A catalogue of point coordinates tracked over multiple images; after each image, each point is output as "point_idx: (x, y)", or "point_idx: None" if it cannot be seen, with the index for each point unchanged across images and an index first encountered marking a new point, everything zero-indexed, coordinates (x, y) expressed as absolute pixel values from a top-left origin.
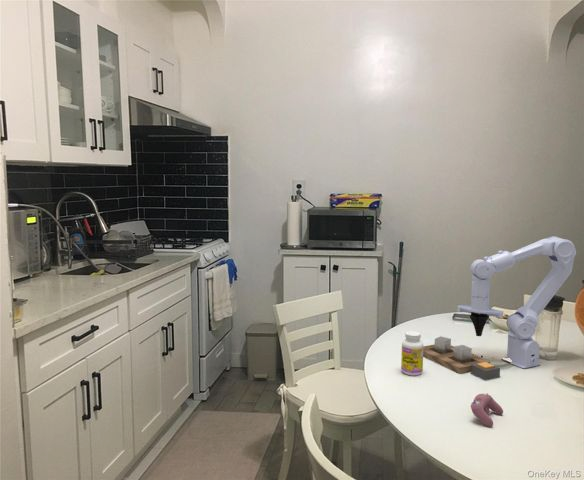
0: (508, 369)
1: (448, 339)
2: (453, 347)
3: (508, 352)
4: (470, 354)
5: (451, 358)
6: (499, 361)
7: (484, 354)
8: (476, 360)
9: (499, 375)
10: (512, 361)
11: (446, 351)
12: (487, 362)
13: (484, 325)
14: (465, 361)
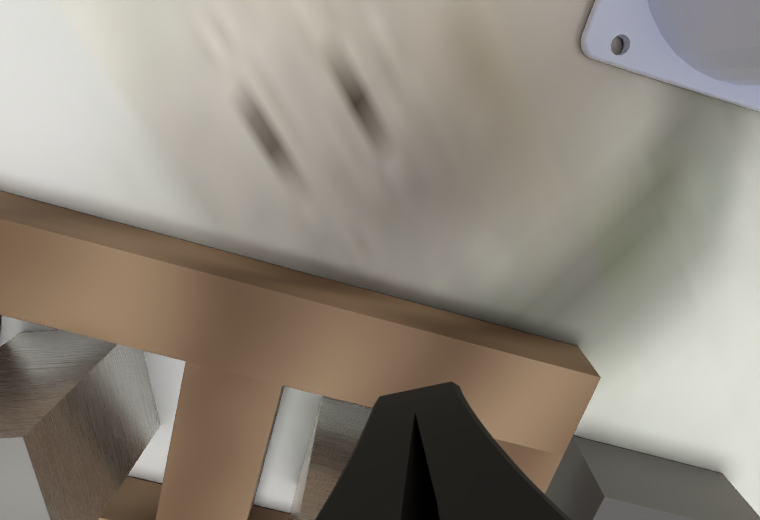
0: (733, 262)
1: (27, 481)
2: (68, 266)
3: (742, 51)
4: None
5: (255, 490)
6: (581, 110)
7: (348, 11)
8: None
9: (729, 487)
10: (747, 86)
11: (125, 435)
12: (630, 503)
13: (555, 512)
14: None
